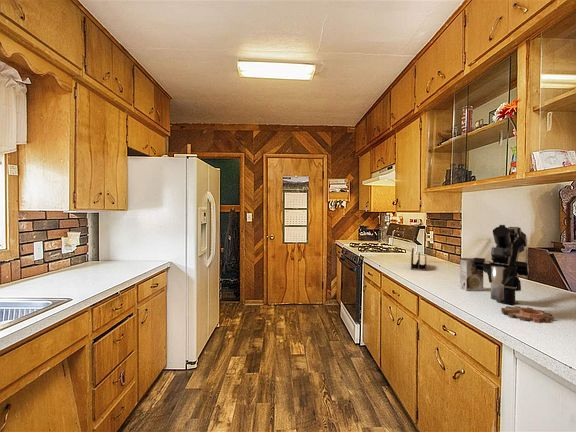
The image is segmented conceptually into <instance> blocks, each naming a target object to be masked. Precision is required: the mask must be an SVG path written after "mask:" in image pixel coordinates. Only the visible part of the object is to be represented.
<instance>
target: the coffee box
mask: <svg viewBox="0 0 576 432" xmlns="http://www.w3.org/2000/svg"><path fill="white" fill-rule="evenodd" d="M474 258H475V257H460V258H459V259H460V260H459V263H460V264H459V289H461V290H463V291H465V292H477V291H478V292H480V291H481V292H482V291H483V292H484V271H480V270H476V269H475V267H474V263H473V260H474Z"/></svg>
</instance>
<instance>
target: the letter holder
mask: <svg viewBox="0 0 576 432" xmlns="http://www.w3.org/2000/svg"><path fill="white" fill-rule="evenodd" d="M414 249H415V248H414V247H412V248H411V258H410V270H411V271H423V272H427V255H425V257H424V261H425V262H424V264H421V252H420V251H419V252H418V260H417V261H416V263H414V251H415V250H414Z"/></svg>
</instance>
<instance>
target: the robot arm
mask: <svg viewBox="0 0 576 432" xmlns="http://www.w3.org/2000/svg"><path fill="white" fill-rule="evenodd" d="M492 235H493V240H494V243H495V244H496V246H495V247H494V246H493V247H491V252H490V256H491V258H490V259H491V261H490V260H486V258H485V257H473V258H474V260H473V263H474V267H475V269H476V270H480V271H483V273H486V274H487V278H488V282H489V283H490V284H491V266H503V267H504V280H503V285H504V300H502V301H498V300H495V301H496V302H497V303H501V304H506V305H508V306H509V305H510V306H513V305H517V304H520V302H519V301H516V291H517V292H520V291H522V283H521V280H520V278H519V276H526V277H528V276H529V274H530V273H529V272H530V269H529V268H530V267H529V263H528V262H526V261H521V260H520V261H519V256H520V253H523V252H525V249H526V247H527V246H528V239H527V234H525V233H524V231H522V229H521V227H519V226H509V227H507V226H506V224H499V226H496V227H495V228H493V229H492Z"/></svg>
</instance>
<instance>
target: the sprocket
mask: <svg viewBox="0 0 576 432" xmlns="http://www.w3.org/2000/svg"><path fill="white" fill-rule="evenodd" d="M500 311H501V314H502V315H506V316H508V318H511V319H518V320H519V321H521V322H522V321H523V322H526V321H530V322H533V323H541V322H543V323H550V322H551V321H552V322H553V321H554V320H555V318H554V315H553V314H552V313H549V312H546V311H545V310H541V309H534V308H532V307H521V306H520V305H518V306H517V305H516V306H511V305H510V306H509V305H508V306H507V305H506V306H505V307H501V309H500Z"/></svg>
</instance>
